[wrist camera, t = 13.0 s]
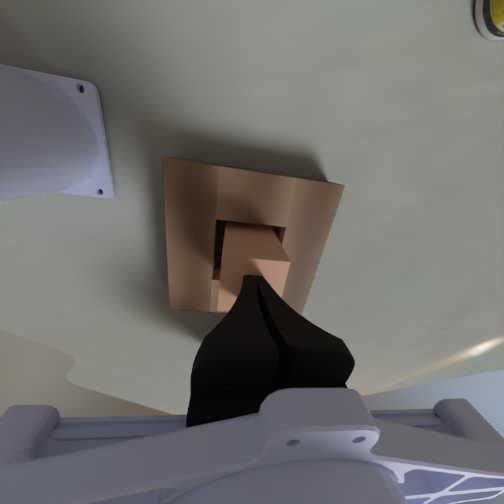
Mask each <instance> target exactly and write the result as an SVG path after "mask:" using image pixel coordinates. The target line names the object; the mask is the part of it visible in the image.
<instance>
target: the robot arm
mask: <svg viewBox="0 0 504 504" xmlns="http://www.w3.org/2000/svg"><path fill="white" fill-rule="evenodd" d="M80 86H83V87H84V92H83V93H81V91H80ZM99 189H101V190H102V191H103V194H101V193H100V191H99ZM49 192H57V193H66V194H74V195H82V196H91V197H99V198H107V199H108V198H112V197H114V195H115V191H114V185H113V178H112V172H111V166H110V160H109V153H108V147H107V141H106V134H105V128H104V122H103V115H102V109H101V103H100V96H99V92H98V89H97V87H96V86H95V85H94V84H92V83H90V82H88V81H84V80H79V79H74V78H69V77H64V76H59V75H53V74H48V73H43V72H38V71H33V70H28V69H23V68H18V67H12V66H7V65H2V64H0V201H5V200H10V199H16V198H21V197H27V196H32V195H38V194H43V193H49ZM354 366H355V360H354V358H353V356H352V355H351V353H350V351H349V349H348V348H347V346H346V345H345V343H344V342H343V340H342V339H340V338H338V337H336V336H334V335H332V334H330V333H328V332H326V331H324V330H322V329H321V328H319V327H317V326H316V325H314V324H313V323H311V322H310V321H308V320H307V319H305V318H304V317H303V316H301V315H300V314H299V313H297V312H296V311H295V310H294V309H293V308H291V307H290V306H289V305H288V304H287V303H286V302H285V301H284V300H283V299H282V298H281V297H280V296H279V295H278V294H277V293H276V291H275V290H274V289H273V288H272V287H271V285H270V284H269V283H268V282H267V280H266V279H265V278H264V276H259V275H244V276H243V281H242V287H241V290H240V293H239V295H238V297H237V299H236V301H235V303H234V304H233V306H232V307H231V309H230V310H229V312H228V313H227V315H226V316H225V317H224V318H223V319H222V321H221V322H220V323H219V324H218V325H217V326H216V327H215V328H214V329H213V330H212V331H211V332H210V333H209V334H208V335H206V336H205V338H204V340H203V342H202V344H201V346H200V348H199V350H198V352H197V354H196V357H195V360H194V363H193V368H192V373H191V396H190V402H189V407H188V413H187V415H154V416H153V415H151V416H110V417H71V418H70V417H68V418H67V417H66V418H60V415H59V412H58V410H57V409H56V408H55V407H53V406H50V405H49V406H48V405H14V406H11V407H9V408H8V409H7V410H6V411H5V413H4V414H3V415H2V416H1V417H0V504H454V503H460V502H466V501H473V500H482V499H489V498H493V497H495V496H497V495H499V494H501V493H503V492H504V438H503V437H502V436H501V435H500V434H499V433H498V432H497V431H496V430H495V429H494V428H493V427H492V426H491V425H490V424H489V423H488V422H487V421H486V420H485V419H484V418H483V416H482V415H481V414H480V413H479V412H478V411H477V410H476V409H475V408H474V407H473V406H472V405H471V404H470V403H469V402H468V401H467V400H466V399H443V400H441V401H439V402H438V403H437V404H436V405H435V406H434V408H433V409H408V410H407V409H406V410H369V409H368V407H367V405H366V404H365V402H364V400H363V398H362V396H361V395H360V394H359V393H358V392H357V391H356V390H353V389H348V388H347V386H346V384H345V383H346V381H347V380H348V378H349V376H350V375H351V373H352V371H353V368H354Z"/></svg>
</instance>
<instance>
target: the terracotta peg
mask: <svg viewBox="0 0 504 504" xmlns="http://www.w3.org/2000/svg"><path fill="white" fill-rule="evenodd" d="M290 263H291V262H290V260H289V258H288V256H287V254H286V253H285V251H284V249H283V247H282V245H281V243H280V242H279V240H278V238H277V236H276V234H275V232H274V231H273V229H272V227H271V225H262V224H253V223H244V222H236V221H227V220H226V227H225V235H224V243H223V251H222V260H221V272H220V284H219V296H218V307H217V311H229V310H230V309H231V307H232V306H233V304H234V303H235V301H236V299H237V297H238V295H239V293H240V290H241V287H242V281H243V276H244V275H259V276H264V278H265V279H266V280H267V282H268V283H269V284H270V285H271V287H272V288H273V289H274V290H275V291H276V293H277V294H278V295H279V296H280V297H282V293H283V289H284V286H285V282H286V278H287V274H288V270H289V266H290Z"/></svg>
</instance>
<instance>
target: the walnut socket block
mask: <svg viewBox="0 0 504 504" xmlns="http://www.w3.org/2000/svg"><path fill="white" fill-rule="evenodd" d="M162 169H163V188H164V207H165V226H166V245H167V265H168V284H169V303H170V310H182V311H202V312H223V313H228V312H229V311H217V307H218V296H219V284H220V272H221V265H216V264H215V255H216V240H217V226H218V220H227V221H236V222H244V223H253V224H262V225H271V226H277V229H276V236H277V238H278V240H279V242H280V243H281V245H282V247H283V249H284V251H285V253H286V254H287V256H288V258H289V260H290V262H291V263H290V266H289V270H288V274H287V278H286V282H285V286H284V289H283V293H282V297H281V298H282V299H283V300H284V301H285V302H286V303H287V304H288V305H289V306H290V307H291V308H293V309H294V310H295V311H296V312H297V313H299V314H300V315H302V312H303V309H304V306H305V303H306V300H307V297H308V294H309V291H310V288H311V285H312V282H313V279H314V276H315V273H316V270H317V267H318V264H319V261H320V258H321V255H322V252H323V249H324V246H325V243H326V240H327V237H328V234H329V231H330V228H331V225H332V222H333V219H334V216H335V213H336V210H337V207H338V204H339V201H340V198H341V196H342V193H343V190H344V187H345V185H340V184H336V183H332V182H328V181H321V180H315V179H308V178H302V177H295V176H289V175H282V174H276V173H269V172H263V171H256V170H250V169H243V168H237V167H230V166H224V165H217V164H211V163H204V162H198V161H191V160H185V159H178V158H162Z"/></svg>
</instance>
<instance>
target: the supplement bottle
mask: <svg viewBox="0 0 504 504" xmlns="http://www.w3.org/2000/svg"><path fill="white" fill-rule="evenodd" d="M475 19H476V24H477V27H478V29H479V31H480V33H481V34H482V35H483V36H484V37H486V38H488V39H491V40H501V39H504V0H476V5H475Z"/></svg>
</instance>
